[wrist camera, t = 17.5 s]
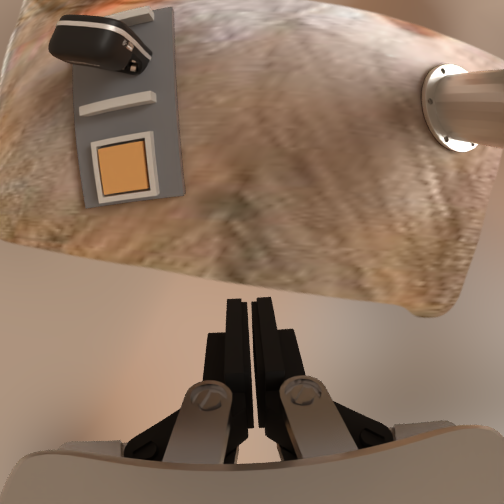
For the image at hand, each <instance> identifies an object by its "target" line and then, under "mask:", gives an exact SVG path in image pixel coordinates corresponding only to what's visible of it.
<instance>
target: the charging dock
mask: <svg viewBox="0 0 504 504" xmlns="http://www.w3.org/2000/svg"><path fill="white" fill-rule="evenodd" d="M105 17H107V18H113V19H116V20H119V21H121V22H123V23H125V24H126V25H127V26H128V27H129V28H130V29H131V30H133V31H134V32H135V34H136V35H137V36H138V37H139V38H140V39H141V40H142V42H143V43H144V44H145V45H146V46H147V47H148V48H149V49H150V50H151V51H152V56H151V57H152V58H151V60H150V61H149V63H148V65H147V67H146V68H145V70H144V71H143V72H142V73H141V74H139V75H130V74H125V73H121V72H116V71H109V70H103V69H98V68H93V67H88V66H80V65H74V64H73V105H74V121H75V134H76V144H77V153H78V162H79V169H80V177H81V183H82V190H83V196H84V202H85V207H86V208H92V207H99V206H106V205H113V204H120V203H127V202H134V201H142V200H150V199H158V198H167V197H176V196H184V194H185V184H184V174H183V164H182V153H181V142H180V130H179V117H178V102H177V85H176V65H175V36H174V10H173V8H172V7H168V8H163V9H157V10H152V9H151V8H150V6H145V7H140V8H136V9H131V10H127V11H123V12H119V13H116V14H112V15H108V16H105ZM139 141H145V148H146V158H147V167H148V176H149V184H150V187H149V188H147V189H141V190H133V191H126V192H119V193H113V194H106V195H104V191H103V184H102V177H101V170H100V162H99V154H98V149H101V148H106V147H111V146H116V145H122V144H127V143H133V142H139Z"/></svg>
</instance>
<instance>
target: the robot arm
mask: <svg viewBox="0 0 504 504" xmlns="http://www.w3.org/2000/svg"><path fill="white" fill-rule="evenodd" d="M422 107H423V113H424V116H425V119H426V122H427V124H428V127H429V129H430V131H431V132H432V134H433V136H434V137H435V138H436V139H437V140H438V142H439V143H441V144H442V145H443V146H444V147H446V148H448V149H449V150H452V151H456V152H468V151H470V150H472V149H474V148H475V147H476V146H477V145H478V144H480V145H486V146H491V147H496V148H501V149H504V69H502V70H488V71H477V72H467V71H465V70H464V69H463V68H461V67H459V66H457V65H453V64H443V65H439V66H437V67H435V68H433V69H432V70H431V71H430V72H429V73H428V75H427V77H426V78H425V81H424V84H423V89H422ZM251 305H252V330H253V331H252V332H253V355H254V356H253V357H254V372H255V385H256V398H257V409H258V423H259V428H265V435H266V436H267V437H268V438H270V439H271V440H273V441H275V442H276V443H277V449H278V452H279V455H280V458H281V461H280V462H268V463H252V464H237V458H238V452H239V445H240V444H241V443H242V442H243V441H245V440H246V439H247V438H248V428H254V419H253V399H252V378H251V360H250V346H249V330H248V312H247V302H241V299H227V311H226V332H225V333H208V338H207V346H206V355H205V364H204V373H203V381H202V382H198V383H196V384H194V385H193V386H192V387H190V388H189V389H188V391H187V393H186V394H185V397H184V400H183V403H182V406H181V408H180V409H179V410H178V411H176V412H174V413H173V414H171V415H170V416H168V417H166V418H165V419H163V420H162V421H160V422H159V423H157V424H155V425H154V426H152V427H151V428H149V429H147V430H146V431H144V432H142V433H141V434H139V435H137V436H136V437H134V438H133V439H131V440H130V441H129V442H128V443H122V442H121V441H120V440H119V441H118V440H117V441H91V442H67V443H64V444H63V445H61V446H60V447H59V449H58V450H46V451H38V452H34V453H31V454H28V455H26V456H24V457H23V458H22V459H20V460H19V461H18V463H17V464H16V465H15V467H14V468H13V470H12V471H11V473H10V475H9V477H8V479H7V481H6V483H5V486H4V488H3V490H2V492H1V495H0V504H504V437H503V436H502V435H501V434H500V433H499V432H498V431H496V430H495V429H493V428H490V427H488V426H482V425H458V426H456V425H454V424H453V423H452V422H449V421H442V420H441V421H432V422H422V423H411V424H395V425H394V426H393V427H390V428H388V427H386V426H385V425H383V424H382V423H380V422H377V421H375V420H373V419H370V418H368V417H366V416H364V415H362V414H359V413H357V412H355V411H353V410H351V409H349V408H346V407H345V406H342V405H340V404H338V403H336V402H334V401H333V400H332V398H331V397H330V394H329V393H328V391H327V389H326V387H325V386H324V384H323V383H322V382H321V381H320V380H318V379H317V378H314V377H311V376H306V375H305V371H304V367H303V364H302V359H301V355H300V352H299V348H298V344H297V340H296V336H295V332H294V330H293V329H282V330H277V326H276V321H275V315H274V310H273V305H272V300H271V297H263V298H257V302H252V303H251Z"/></svg>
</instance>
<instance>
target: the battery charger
mask: <svg viewBox="0 0 504 504" xmlns="http://www.w3.org/2000/svg"><path fill="white" fill-rule="evenodd" d="M49 52H50V53H51V54H52V55H53V56H54V57H56V58H58V59H60V60H63V61H65V62H67V63H70V64H74V65H80V66H88V67H93V68H98V69H103V70H109V71H116V72H121V73H125V74H130V75H139V74H141V73H142V72H143V71H144V70H145V68H146V67H147V65H148V63H149V61H150V60H151V58H152V57H151V56H152V51H151V50H150V49H149V48H148V47H147V46H146V45H145V44H144V43H143V42H142V40H141V39H140V38H139V37H138V36H137V35H136V34H135V32H134V31H133V30H131V29H130V28H129V27H128V26H127V25H126V24H125V23H123V22H121V21H119V20H116V19H113V18H107V17H99V16H89V15H64V16H62V17H61V18H60V20H59V21H58V22H57V24H56V29H55V31H54V33H53V35H52V38H51V40H50V43H49Z"/></svg>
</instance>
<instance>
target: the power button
mask: <svg viewBox="0 0 504 504" xmlns="http://www.w3.org/2000/svg"><path fill="white" fill-rule="evenodd" d="M98 154H99V162H100V170H101V177H102V184H103V191H104V195H106V194H113V193H119V192H126V191H133V190H141V189H147V188H149V187H150V184H149V176H148V167H147V158H146V148H145V141H139V142H133V143H127V144H122V145H116V146H111V147H106V148H101V149H98Z"/></svg>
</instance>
